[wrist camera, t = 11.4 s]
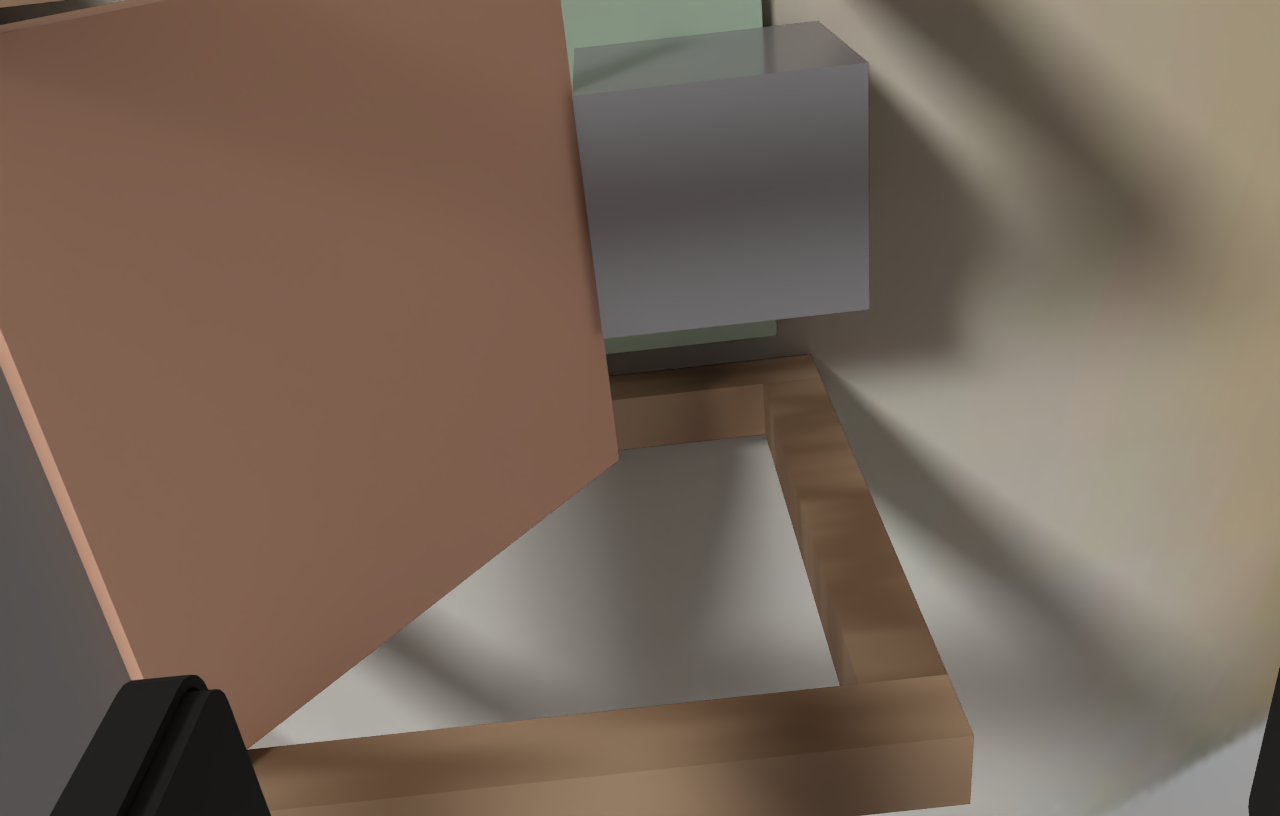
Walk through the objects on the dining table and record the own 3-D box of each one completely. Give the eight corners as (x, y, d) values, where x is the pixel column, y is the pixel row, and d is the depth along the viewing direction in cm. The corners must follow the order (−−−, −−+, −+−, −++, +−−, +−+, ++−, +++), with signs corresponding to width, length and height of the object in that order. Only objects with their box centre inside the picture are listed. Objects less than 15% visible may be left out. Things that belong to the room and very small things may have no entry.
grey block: (574, 48, 27) (818, 20, 27) (600, 256, 29) (823, 231, 29) (572, 96, 22) (868, 62, 22) (603, 338, 25) (869, 309, 25)
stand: (104, 481, 32) (-227, 931, 19) (-127, -115, 25) (-931, -50, 12) (812, 403, 32) (970, 803, 19) (792, -221, 25) (1030, -276, 12)
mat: (754, -95, 26) (757, -94, 26) (774, 329, 31) (777, 335, 31) (293, -42, 26) (289, -40, 26) (389, 372, 31) (387, 378, 31)
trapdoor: (-336, 950, 17) (-227, 1117, 14) (-952, 175, 11) (-953, 227, 9) (484, 420, 29) (619, 459, 27) (390, -70, 24) (550, -78, 21)
